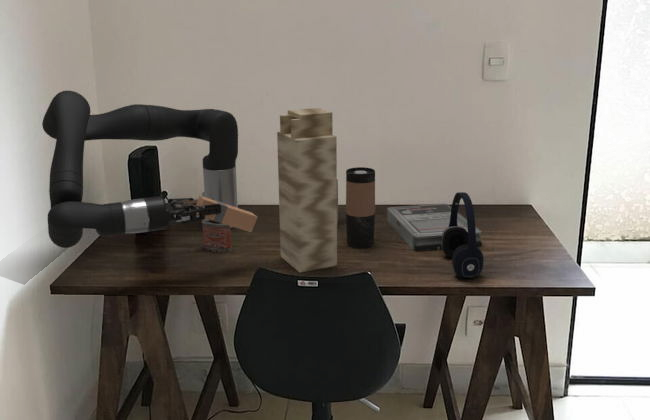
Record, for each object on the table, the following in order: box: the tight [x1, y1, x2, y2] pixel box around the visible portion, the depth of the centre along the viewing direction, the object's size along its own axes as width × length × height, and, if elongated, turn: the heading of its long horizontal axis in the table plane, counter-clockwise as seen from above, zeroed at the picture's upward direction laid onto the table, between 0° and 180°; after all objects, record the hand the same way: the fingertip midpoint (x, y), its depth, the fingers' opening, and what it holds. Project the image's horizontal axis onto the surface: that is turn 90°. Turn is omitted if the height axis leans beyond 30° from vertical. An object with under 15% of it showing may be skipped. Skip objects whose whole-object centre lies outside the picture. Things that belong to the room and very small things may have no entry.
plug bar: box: [195, 195, 259, 233], centre depth 165 cm, size 14×4×4 cm, turn 117°
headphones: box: [441, 191, 484, 280], centre depth 168 cm, size 20×7×18 cm, turn 2°
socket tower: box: [276, 107, 338, 273], centre depth 170 cm, size 10×12×37 cm
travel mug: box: [345, 166, 376, 249], centre depth 184 cm, size 8×8×20 cm
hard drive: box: [386, 203, 483, 252], centre depth 195 cm, size 18×27×4 cm
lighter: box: [201, 219, 233, 253], centre depth 183 cm, size 8×3×10 cm, turn 71°
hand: (217, 205), depth 164 cm, fingers closed on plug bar, 4 cm apart
